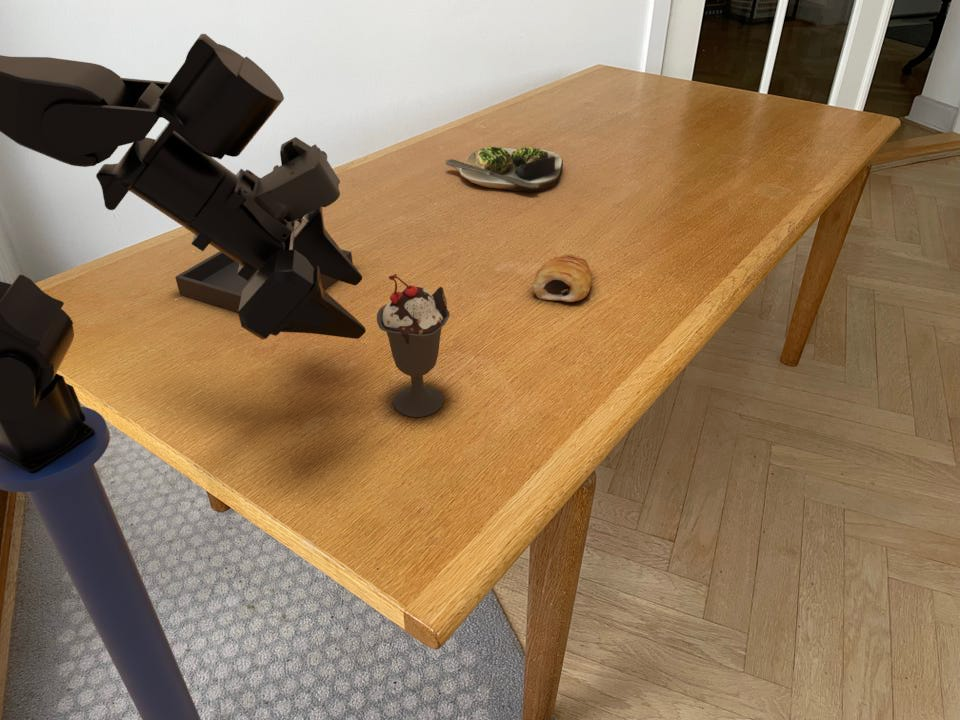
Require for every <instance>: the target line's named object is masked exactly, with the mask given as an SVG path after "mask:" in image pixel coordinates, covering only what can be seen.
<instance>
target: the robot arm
mask: <svg viewBox="0 0 960 720" xmlns="http://www.w3.org/2000/svg"><path fill="white" fill-rule="evenodd" d="M284 99H285V96H284V94H283V92H282V91H281V89H280V87H279V86H278V84H277V83H276V82H275V81H274V80H273V79H272V78H271V76H269V74H268V73H266V71H265V70H264V69H263V68H261V67H260V66H259V65H258V64H257V63H256V62H254V61H253V60H252V59H251V58H250V57H248V56H245V57H244V56H242V55H241V54H240V53H238V52H237V51H235V50H233V49H232V48H230V47H228V46H226V45H223V44H221V43H217V42H216V41H215V40H214V39H213V38H211V37H210V36H209V35H208V34H206V33H200V34H199V36H198V37H197V39H196V40H195V41H194V43H193V44H192V46H191V47H190V49H188V52H187V54H186V57H185V60H184V62H183V63H182V65H181V66H180V68H179V69H178V70H177V72H176V73H175V75H174V76H173V77H172V79H171V80H170V81H161V80H148V79H138V78H129V77H128V78H127V77H125V78H124V77H121V76H120V75H119V74H117V73H116V72H115V71H113V70H112V69H111V68H108V67H106V66H104V65H101V64H98V63H93V62H87V61H79V60H73V59H72V60H71V59H64V58H56V57H49V56H45V57H44V56H9V55H3V54H2V55H1V54H0V133H1V134H3V135H4V136H5V137H7V138H9V139H10V140H12V141H13V142H14V143H16V144H17V145H19V146H20V147H23V148H26V149H28V150H31V151H34V152H36V153H38V154H41V155H44V156H46V157H48V158H51V159H54V160H55V161H58V162H60V163H64V164H67V165H70V166H73V167H80V168H81V167H82V168H87V167H89V168H90V167H95V166H97V165H99V164H100V163H102V162H104V161H106V160H108V159H110V158H111V156H112V155H114V152H116V151H117V149H119V147H122V146H125V145H129V144H130V147H128V149H127V151H125V153H124V155H123V156H122V157H121V158H120V160H119V161H118V163H104V164H103V165H101V167H100V169H99V170H98V172H97V173H96V175H95V178H96V179H97V181H98V182H99V185H100V188H101V192H102V197H103V202H104V207H105V209H107V210H108V211H114V210H116V209H117V208H118V206H119V205H120V203H121V202H122V201H123V200H124V198H125V197H126V196H127V194H128V193H129V192H131V193H132V194H134V195H135V196H137V197H138V198H139V199H141V200H142V201H144V202H146V203H147V204H148V205H150V206H152V207H153V208H154V209H156V210H157V211H159V212H160V213H162V214H163V215H165V216H167V217H168V218H169V219H171V220H173V221H174V222H176V223H177V224H179V225H180V226H181V227H182V228H184V229H186V230H187V231H189V232H190V233H192V234H193V238H192V241H191V245H192V246H193V247H195V248H197V249H198V250H200V251H201V252H205V250H206V248H208V246H212V247H213V248H215V249H216V250H217V251H218V252H219V251H221V252H222V253H224V254H225V255H227V256H228V257H230V258H231V259H233V260H234V261H236V262H237V263H239V268H238V272H237V274H238V275H239V276H241V277H243V278H244V279H246V280H247V281H248V280H249V279H250V278H251V277H252V276H253V274H254V273H255V272H256V271H257V270H259V272H258V273H257V274H256V275H255V276H254V278H253V279H252V280H251V281H250V282H249V283H248V284H247V286H246V287H245V288H244V289H243V291H242V296H241V300H240V305H239V310H238V312H237V313H238V319H239V323H240V326H241V328H243V329H244V330H246V331H248V332H249V333H251V334H252V335H254V336H256V337H257V338H259V339H260V340H266V339H268V338H269V337H270V335H272V336H274V337H276V336H278V335H279V334H280V333H294V334H295V333H298V334H313V335H322V336H329V337H330V336H331V337H338V338H344V339H345V338H347V339H353V340H358V339H360V338H362V336H364V334H366V332H367V331H366V327H365V326H364V324H362V323H361V322H360V321H359V320H358V319H357V318H356V317H355V316H354V315H353V314H351V312H349V311H348V310H347V309H346V308H345V307H344V306H342V304H340V302H338V301H337V300H336V299H335V298H333V297H332V296H331V295H330V294H329V293H328V292H327V291H326V290H324V289H323V287H322V282H321V275H320V274H323V275H325V276H328V277H331V278H333V279H336V280H337V281H339V282H342V283H346V284H349V285H352V286H357V285H359V284H360V283H361V282H362V280H363V275H362V273H361V272H360V271H359V270H358V268H357V267H356V266H355V265H354V263H353V262H352V263H353V264H352V263H351V261H350V260H349V259H348V258H347V256H346V255H345V254H344V253H343V251H342V250H343V249H342V248H341V247H340V246H339V245H338V244H337V242H336V241H335V240H334V238H333V237H332V236H331V234H330V233H329V232H328V231H327V229H326V227H325V222H324V213H323V208H327V207H329V206H331V205H332V204H334V203H335V202H336V201H337V200H338V199H339V198H340V196H341V191H340V187H339V186H340V184H341V180H340V178H339V177H338V175H337V174H336V172H335V170H334V169H333V166H331V164H330V162H329V161H328V154H327V153H326V151H324V150H321V148H320V147H318V146H317V144H313V145H310V144H307V143H306V142H305V141H303V140H301V139H300V138H298V137H296V136H295V137H293V138H290V139H289V140H287V141H285V142H284V143H282V144H281V145H280V150H279V155H280V156H279V157H280V162H281V164H280V165H278V164H276V165H274V166H273V168H272V170H271V172H268V173H266V174H265V175H264V176H262V177H259V176H258V175H256V174H255V173H253V172H252V171H251V170H249V169H245V170H244V169H243V168H240V169H239V170H238V171H237V173H236V174H235V173H234V172H232V171H231V170H230V169H228V168H227V167H226V166H224V165H223V164H222V163H220V162H219V161H218V160H222V159H223V158H224V157H225V156H228V157H233V158H234V157H239V156H240V155H241V153H243V151H244V150H245V149H246V147H247V146H248V145H249V144H250V142H251V141H252V140H253V139H254V138H255V137H256V135H257V134H258V132H259V131H260V130H261V129H262V127H263V126H264V125H265V124H266V122H267V121H268V120H269V119H270V117H271V116H272V115H273V114H274V113H275V111H276V110H277V109H278V107H280V105H281V104H282V103H283V101H284ZM161 118H162V119H164V120H166V121H167V122H168V123H167V124H166V125H165V127H164V128H163V129H162V130H161V132H160V133H158V135H157V137H156V138H151V137H147V136H148V134H149V133H150V132H151V130H152V129H153V128H154V126H155V125H156V124H157V122H158V121H159V119H161ZM217 159H218V160H217ZM341 249H342V250H341ZM64 305H65V303H64V301H62V300H60V299H57V298H55V297H52V296H51V295H49V294H48V293H46V292H44V291H43V290H42V289H41V288H40V287H39V286H38V285H37V284H36V283H35V282H34V281H33V279H31V278H29V277H28V276H26V275H24V274H18V276H16V278H15V279H14V280H13V282H12V283H8V282H5V281H0V456H1V457H2V458H4V459H6V460H8V461H9V462H11V463H13V464H15V465H16V466H18V467H20V468H22V469H23V470H25V471H27V472H29V473H31V474H33V473H37V472H39V471H40V470H42V469H43V468H45V467H46V466H48V465H49V464H51V463H52V462H54V461H55V460H57V459H58V458H60V457H62V456H63V455H65V454H66V453H68V452H69V451H71V450H72V449H74V448H75V447H77V446H78V445H80V444H81V443H83V442H84V441H86V440H87V439H89V438H90V437H92V436H93V435H95V430H94V428H92V427H90V426H88V425H86V424H84V423H82V422H84V421H85V419H86V417H85V415H84V412H83V410H82V407H83V406H82V405H81V403H80V400H79V397H78V394H77V393H76V390H75V387H74V386H73V385H71V384H70V383H68V382H66V380H65V378H64V376H63V375H61V374H59V373H58V371H59V369H60V367H61V365H62V363H63V361H64V359H65V357H66V356H67V353H68V352H69V349H70V347H71V346H72V344H73V341H74V338H75V332H74V322H73V320H72V318H71V317H70V316H69V314H68V313H67V312H66V311H65V310H64V309H63V307H64Z"/></svg>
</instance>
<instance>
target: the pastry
mask: <svg viewBox="0 0 960 720" xmlns="http://www.w3.org/2000/svg"><path fill="white" fill-rule="evenodd" d="M592 281H593V274H592V271H591V268H590V265H589V263H588V262H587V260H586V259H585V258H582V257H578V256H576V255H574V254H569V253H567V254H563V255H560V256H554V257H553V258H550V259H549V260H547V261H546V262H544V264H543V265H542V267H541V268H539V269H538V270H537V271H536V274H535V280H534V284H533V285H532V287H531V289H532V291H533V293H534V294H535V296H536V297H537V298H538V299H540V300H546V301H560V302H566V303H574V302H580V301H581V300H583V299H584V298H586V297H587V296H588V294H589V292H590V290H591V285H592Z"/></svg>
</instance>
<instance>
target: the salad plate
mask: <svg viewBox="0 0 960 720" xmlns="http://www.w3.org/2000/svg"><path fill="white" fill-rule="evenodd" d="M444 164H445V165H446V166H448V167H450V168H453V169H455V170H456V171H458V172H459V175H460V176H461V177H462V178H464V179H465V180H467V181H469V182H470V183H473V184H475V185H478V186H481V187H482V188H483V187H484V188H488V189H497V190H505V191H512V192H527V193H533V192H541V191H545V190H548V189H551V188H552V187H553V186H554V185H555V184H556V183H557V182H558V180H559V178H560V175H561V171H562V169H563V166H564V160H563V158H562V156H561V155H559V154H558V153H557V152H553V151H550V150H547V149H546V150H545V149H541V148H536V147H532V146H529V148H528V147H526V146H524V147H521V148H512V147H511V148H509V147H501V146H500V147H499V146H490V145H488V146H486V147H482V148H479V149H476V150H473V151H472V152H470V153H469V155H468V156H467V157H466V159H465V161H464V162H462V161H459V160H456V159H452V158H449V159H446V160H445V163H444Z"/></svg>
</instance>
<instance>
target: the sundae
mask: <svg viewBox="0 0 960 720" xmlns="http://www.w3.org/2000/svg"><path fill="white" fill-rule="evenodd" d="M388 279H389V280H391V281H393V282H394V291H393V292H392V293H391V294H390V296H389V300H390V301H389V302H388V303H387V304H384V305H383V306H381V307H380V308H379V310H378V311H377V312H376V323H377V326H378V328H379V329H380V330H381V331H383V332H385V333H386V336H387V338H388V342H389V346H390V351H391V356H392V358H393V360H394V364H395V367H396V368H397V370H398V371H399V372H401V373H402V374H404V375H406V376H409V377H410V382H411V385H409V386H406V387H405V388H402V389H401V390H399V391H398V392H397V393H396V394H395V395H394V398H393V402H392V403H393V407H394V409H395V410H396V411H397V412H398V413H400V414H402V415H404V416H406V417H412V418H421V417H427V416H430V415H433V414H435V413H436V412H438V410H440V409H441V407H442V406H443V403H444V397H443V394H442V393H441V392H440V391H439V390H438V389H437V388H435V387H433V386H430V385H429V386H428V385H424V376H425V375H428V374H429V373H430V372H431V371H432V370H433V369H434V368H435V366H436V364H437V361H438V356H439V353H440V342H441V336H442V335H441V334H442V328H443V327H444V326H445V325H446V323H447V322H448V321H449V318H450V314H451V313H450V311H449V309H448V302H447V297H446V294H445V291H444V287H442V286H439V287H438V288H437V289H436V290H435V291H434V292H433V293H431V292H429V291H428V290H427V289H425V288H423V287H421V286H415V285H412V284H411V285H409V284H407V283H406V282H405V281H403V280H402V279H401V278H400V277H398V274H397V273H394V274H393V275H389V276H388ZM396 279H397V280H399V282H401V283H402V284H403V285H404V286H406V287H405V288H404V289H403V290H402V291H397V290H398V283H397V280H396Z"/></svg>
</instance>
